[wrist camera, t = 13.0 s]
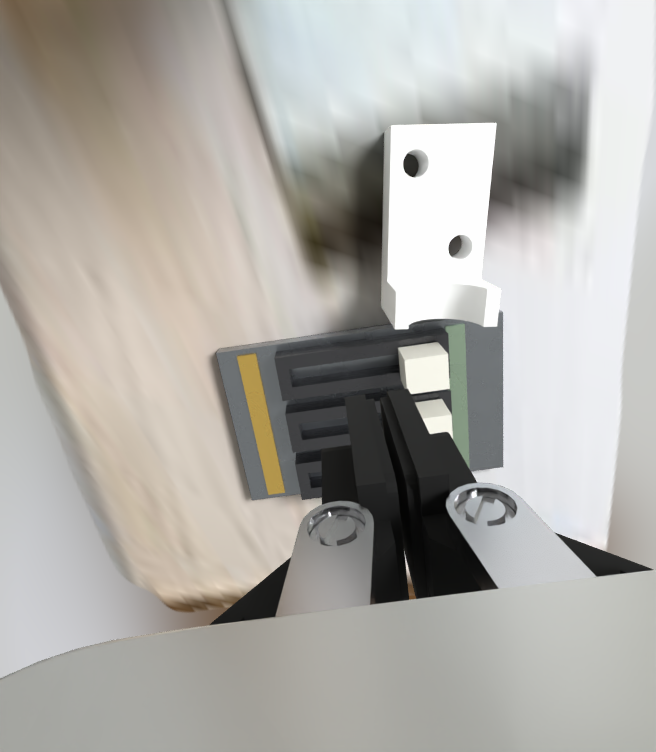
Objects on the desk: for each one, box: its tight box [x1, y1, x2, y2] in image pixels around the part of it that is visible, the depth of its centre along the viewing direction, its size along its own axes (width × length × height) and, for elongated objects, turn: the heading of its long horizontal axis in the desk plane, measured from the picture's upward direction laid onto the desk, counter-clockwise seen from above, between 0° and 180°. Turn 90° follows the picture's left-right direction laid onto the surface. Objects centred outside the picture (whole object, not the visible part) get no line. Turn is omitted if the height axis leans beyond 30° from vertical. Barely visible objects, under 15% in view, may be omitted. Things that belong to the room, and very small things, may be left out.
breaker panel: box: [216, 310, 503, 500], centre depth 40 cm, size 15×24×3 cm, turn 98°
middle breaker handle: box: [415, 399, 453, 439], centre depth 38 cm, size 3×3×5 cm
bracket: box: [381, 123, 501, 329], centre depth 32 cm, size 13×7×8 cm, turn 1°
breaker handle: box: [398, 342, 450, 394], centre depth 36 cm, size 3×3×5 cm
